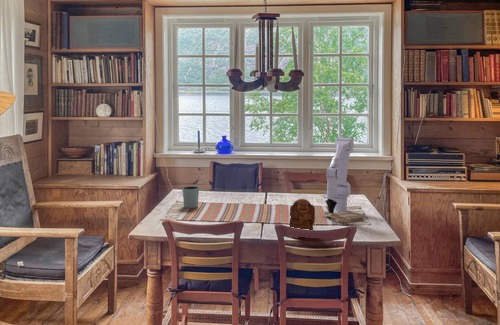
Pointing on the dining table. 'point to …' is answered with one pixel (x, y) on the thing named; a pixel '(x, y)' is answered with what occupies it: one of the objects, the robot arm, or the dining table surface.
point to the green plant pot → (190, 196)
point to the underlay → (335, 221)
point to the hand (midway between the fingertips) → (331, 212)
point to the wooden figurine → (302, 214)
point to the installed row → (352, 216)
